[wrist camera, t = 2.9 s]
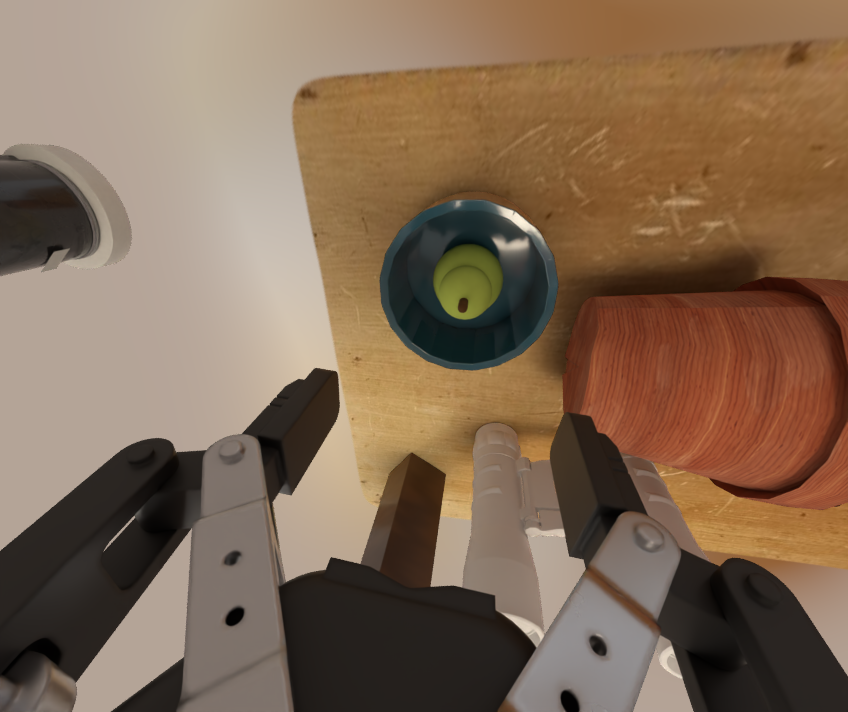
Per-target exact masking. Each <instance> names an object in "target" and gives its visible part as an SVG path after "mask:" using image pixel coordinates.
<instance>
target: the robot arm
mask: <svg viewBox="0 0 848 712" xmlns="http://www.w3.org/2000/svg"><path fill="white" fill-rule="evenodd" d="M99 244H100V228H99V224H98V220H97V218H96V215H95V213H94V211H93V209H92V207H91V205H90V203H89V202H88V200H87V199H86V197H85V196H84V194H83V193H82V192H81V191H80V189H79V188H78V187H77V186H76V185H75V184H74V183H73V182H72V181H71V180H70V179H69V178H68V177H67V176H65V175H64V174H63V173H62V172H60V171H59V170H57V169H56V168H54V167H52V166H50V165H49V164H46V163H44V162H41V161H37V160H19V159H18V158H16V157H15V156H13V155H0V276H3V275H8V274H12V273H16V272H20V271H25V270H29V269H33V268H37V267H42V266H45V267H44V268H43V270H42V271H41V272H43V271H48V270H52V269H56V268H57V267H58V265H59V264H60V263H61V262H64V261H68V260H76V259H82V258H86V257H89V256H91V255H93V254H94V253H95V252H96V251H97V249H98V247H99ZM339 404H340V402H339V383H338V374H337V372H336V371H331V370H325V369H320V368H315V369H314V370H313V371H312V372H311V373H310V374H309V375H308V376H307V378H306V379H305V380H302V379H298V380H296V381H294V382H293V383H291V384H289V385H287V386H285V388H284V389H283V390H282V391H281V392H280V393H279V394H278V395H277V398H274V399H273V401H272V402H271V403H270V405H268V406H267V407H266V408H265V409H264V410H263V411H262V413H261V414H260V415H259V416H258V417H257V418H256V419H255V420H254V421H253V422H252V424H251V425H250V426H249V427H248V428H247V429H246V430H245V431H244V432H243V433H242V434H238V435H232V436H228V437H225V438H223V439H221V440H219V441H217V442H215V443H214V444H213V445H211V446H210V447H209V448H208V449H207V450H204V451H189V452H176V451H175V448H174V446H173V444H172V443H171V442H170V441H169V440H166V439H162V438H153V439H147V440H143V441H140V442H137V443H134V444H131V445H130V446H128V447H126V448H124V449H123V450H121V451H120V452H119V453H117V454H116V455H115V456H113V457H112V458H111V459H110V460H109V461H107V462H106V463H105V464H104V465H103V466H102V467H100V468H99V469H98V470H97V471H95V472H94V473H93V474H92V475H91V476H89V477H88V478H87V479H86V480H85V481H83V482H82V483H81V484H80V485H79V486H77V487H76V488H75V489H74V490H73V491H72V492H70V493H69V494H68V495H67V496H65V497H64V498H63V499H62V500H61V501H59V502H58V503H57V504H56V505H55V506H54V507H52V508H51V509H50V510H49V511H48V512H46V513H45V514H44V515H43V516H42V517H40V518H39V519H38V520H37V521H36V522H34V524H32V525H31V526H30V527H28V528H27V529H26V530H25V531H24V532H22V533H21V534H20V535H19V536H18V537H17V538H15V539H14V540H13V541H12V542H10V543H9V544H8V545H7V546H6V547H4V548H3V549H2V550H1V551H0V712H72V710H73V707H74V704H75V701H76V695H77V687H76V682H77V680H78V679H79V678H80V676H81V675H82V674H83V672H84V671H85V670H86V668H87V667H88V666H89V664H90V663H91V662H92V660H93V659H94V658H95V656H96V655H97V654H98V652H99V651H100V650H101V648H102V647H103V646H104V644H105V643H106V642H107V640H108V639H109V638H110V636H111V635H112V634H113V632H114V631H115V630H116V628H117V627H118V626H119V624H120V623H121V622H122V620H123V619H124V618H125V616H126V615H127V614H128V612H129V611H130V610H131V608H132V607H133V606H134V604H135V603H136V601H137V600H138V599H139V598H140V596H141V595H142V594H143V592H144V591H145V590H146V588H147V587H148V586H149V584H150V583H151V582H152V580H153V579H154V578H155V576H156V575H157V574H158V572H159V571H160V570H161V568H162V567H163V566H164V564H165V563H166V562H167V560H168V559H169V558H170V556H171V555H172V553H173V552H174V551H175V549H176V548H177V547H178V546H179V544H180V543H181V542H182V540H183V539H184V538H185V536H186V535H187V534H188V532H189V531H190V530H191V528H192V537H191V555H190V570H189V586H188V603H187V620H186V636H185V652H184V657H183V658H182V659H181V660H179V661H178V662H177V663H175V664H174V665H173V666H171V667H170V668H169V669H168V670H166V671H165V672H163V673H162V674H161V675H159V676H158V677H157V678H155V679H154V680H153V681H151V682H150V683H149V684H147V685H146V686H145V687H143V688H142V689H141V690H139V691H138V692H137V693H135V694H134V695H133V696H131V697H130V698H129V699H127V700H126V701H125V702H123V703H122V704H121V705H119V706H118V707H117V708H115V709H114V710H113V711H111V712H633V710H634V707H635V704H636V701H637V699H638V696H639V693H640V690H641V688H642V684H643V682H644V679H645V676H646V674H647V671H648V668H649V665H650V662H651V659H652V657H653V654H654V651H655V649H656V646H657V643H658V640H659V637H660V635H661V636H662V637H664V638H666V639H668V640H670V641H671V644H672V647H673V651H674V654H675V657H676V660H677V663H678V666H679V669H680V672H681V675H682V678H683V681H684V684H685V687H686V690H687V693H688V696H689V699H690V702H691V705H692V708H693V711H694V712H848V676H847V674H846V673H845V672H844V670H843V668H842V667H841V665H840V664H839V663H838V661H837V659H836V658H835V656H834V655H833V653H832V652H831V650H830V649H829V647H828V645H827V644H826V642H825V641H824V639H823V638H822V637H821V635H820V633H819V632H818V630H817V629H816V627H815V626H814V624H813V623H812V621H811V620H810V618H809V616H808V615H807V614H806V612H805V611H804V609H803V607H802V606H801V604H800V603H799V601H798V600H797V598H796V597H795V596H794V594H793V593H792V592H791V591H790V590H789V589H788V588H787V587H786V585H784V583H782V582H781V581H780V580H779V579H778V578H777V577H776V576H774V575H773V574H771V573H770V572H769V571H767V570H766V569H764V568H762V567H761V566H759V565H757V564H755V563H753V562H750V561H748V560H744V559H740V558H730V559H727V560H726V561H725V562H724V563H723V564H722V565H721V566H718V565H715V564H713V563H711V562H709V561H707V560H705V559H702V558H700V557H698V556H696V555H694V554H692V553H690V552H687V551H685V550H684V549H682V548H680V547H679V545H678V543H677V541H676V539H675V538H674V536H673V535H672V534H671V533H670V532H669V530H668V529H667V528H666V527H664V526H663V525H662V524H661V523H659V522H658V521H657V520H655V519H653V518H652V517H650V516H648V514H647V511H646V509H645V507H644V505H643V502H642V500H641V498H640V496H639V494H638V491H637V489H636V487H635V485H634V483H633V480H632V478H631V476H630V474H628V469H627V467H626V465H625V463H624V462H623V458H622V456H621V454H620V452H619V449H618V447H617V446H616V445H615V444H614V443H613V442H612V440H611V439H610V438H609V437H608V436H607V435H606V434H603V433H598V432H597V429H596V427H595V424H594V422H593V419H592V417H591V416H588V415H582V414H577V413H571V412H566V413H565V414H564V415H563V417H562V420H561V422H560V425H559V427H558V430H557V433H556V435H555V438H554V440H553V443H552V446H551V451H550V464H551V469H552V474H553V479H554V483H555V488H556V493H557V498H558V503H559V508H560V513H561V518H562V523H563V528H564V533H565V538H566V543H567V547H568V552H569V556H570V557H575V558H579V559H584V563H585V567H586V570H585V572H584V573H583V575H582V576H581V578H580V579H579V581H578V583H577V584H576V586H575V587H574V590H573V591H572V592H571V594H570V595H569V597H568V599H567V600H566V602H565V604H564V605H563V607H562V608H561V610H560V611H559V613H558V615H557V616H556V618H555V619H554V621H553V623H552V624H551V626H550V627H549V629H548V631H547V632H546V634H545V635H544V637H543V639H542V640H541V642H540V643H539V645H538V647H536V646H535V644H534V643H533V642H532V640H531V639H530V638H529V637H528V636H527V635H526V634H525V633H524V632H523V630H522V629H521V628H519V627H518V626H517V625H516V624H515V623H514V622H513V621H512V620H510V619H509V618H507V617H506V616H505V615H503V614H502V613H500V612H498V611H496V604H495V595H492V594H488V593H483V592H479V591H475V590H470V589H466V588H461V587H457V586H439V587H420V588H409V587H406V586H404V585H402V584H400V583H399V582H397V581H395V580H393V579H391V578H390V577H388V576H386V575H384V574H383V573H381V572H379V571H377V570H376V569H374V568H372V567H370V566H367V565H362V564H358V563H354V562H349V561H345V560H341V559H336V558H332V557H331V558H330V561H329V563H328V566H327V568H326V570H322V571H316V572H310V573H307V574H304V575H301V576H298V577H296V578H294V579H292V580H289V581H287V582H286V580H285V575H284V570H283V564H282V558H281V552H280V546H279V539H278V533H277V527H276V520H275V513H274V507H273V503H272V502H273V501H274V499H275V498H276V496H277V495H278V493H283V494H287V495H292V493H293V492H294V490H295V488H296V487H297V485H298V483H299V482H300V480H301V478H302V477H303V475H304V473H305V472H306V470H307V468H308V466H309V465H310V463H311V462H312V460H313V458H314V457H315V455H316V453H317V452H318V450H319V448H320V447H321V445H322V443H323V442H324V440H325V438H326V437H327V435H328V433H329V432H330V430H331V428H332V426H333V425H334V423H335V422H336V420H337V417H338V413H339V407H340V405H339ZM133 516H135V517H136V518H135V519H134V520H133V521H132V522H131V523H130V524H129V525H128V526H127V527H126V528H125V530H124V531H123V532H122V533H121V534H120V535H119V536H118V537H117V538H116V539H115V540H114V541H113V543H111V545H110V546H109V547H108V548H107V549H106V550H105V551H104V549H105V548H106V546H107V545H108V543H109V542H110V541H111V540H112V539H113V537H114V536H115V535H116V534H117V533H118V532H119V531H120V530H121V529H122V528H123V527H124V526H125V525H126V523H128V521H129V520H130V519H131V518H132V517H133ZM103 551H104V552H103Z"/></svg>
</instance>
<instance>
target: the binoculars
mask: <svg viewBox="0 0 848 712" xmlns="http://www.w3.org/2000/svg"><path fill="white" fill-rule="evenodd" d="M620 454H621V456H622V458H623V462H624V463H625V465H626V467H627V469H628V474H630V476H631V478H632V480H633V483H634V485H635V487H636V489H637V491H638V494H639V496H640V498H641V500H642V502H643V505H644V507H645V509H646V511H647V514H648V516H650V517H652V518H653V519H655V520H657V521H658V522H659V523H661V524H662V525H663V526H664V527H666V528H667V529H668V530H669V532H670V533H671V534H672V535H673V536H674V538H675V539H676V541H677V543H678V545H679V547H680V548H682V549H684V550H685V551H687V552H690V553H692V554H694V555H696V556H698V557H700V558H702V559H705V560H707V561H709V562H710V560H709V559H708V558H707V557H706V555H705V553H704V552H703V551H702V549H701V548H700V547H699V546H698V544H697V543H696V541H695V539H694V537H693V535H692V534H691V532H690V530H689V528H688V526H687V524H686V523H685V521H684V519H683V517H682V513H681V511H680V509H679V508H678V506H677V505H676V504H675V503H674V501H673V499H672V497H671V495H670V494H669V492H668V489H667V486H666V484H665V482H664V481H663V480H662V479H661V477H660V475H659V474H658V472H657V469H656V467H655V465H654V463H653V461H649V460H646V459H642V458H639V457H635V456H632V455H628V454H625V453H621V452H620ZM473 460H474V479H473V502H472V509H471V510H472V527H471V537H470V542H469V546H468V551H467V556H466V562H465V566H464V573H463V588H466V589H470V590H475V591H479V592H483V593H488V594H492V595H495V604H496V611H498V612H500V613H502V614H503V615H505V616H506V617H507V618H509V619H510V620H512V621H513V622H514V623H515V624H516V625H517V626H518V627H519V628H521V629H522V630H523V632H524V633H525V634H526V635H527V636H528V637H529V638H530V639H531V640H532V642H533V643H534V644H535V646H536V647H538V645H539V643H540V642H541V640H542V639H543V637H544V635H545V633H544V625H543V617H542V608H541V600H540V592H539V583H538V577H537V573H536V569H535V565H534V561H533V557H532V553H531V549H530V546H529V542H528V537H527V535H528V536H530V537H537V536H539V535H542V536H551V535H553V536H557V537H565V533H564V528H563V523H562V518H561V513H560V508H559V503H558V498H557V493H556V492H555V491H556V488H555V487H554V486H555V483H554V482H553V481H554V479H553V474H552V469H551V464H550V460H540V461H536V462H531V463H530V460H529V458H526V457H522V458H521V450H520V446H519V444H518V437H517V434H516V432H515V431H514V430H513V429H512V428H511V427H509V426H508V425H505V424H502V423H489V424H486V425H484V426H482V427H480V428H479V429H478V431H477V432H476V435H475V443H474V446H473ZM521 478H522V480H521ZM522 488H523V489H522ZM523 497H524V499H523ZM537 512H539V518H538V513H537ZM540 526H541V527H540ZM656 650H657V653H658V656H659V661H660V664H661V665H662V666H663V668H664V669H666V670H667V671H668V672H669V673H671V674H673V675H675V676H676V677H679V678H682V675H681V672H680V669H679V666H678V663H677V660H676V657H675V654H674V651H673V647H672V644H671V641H670V640H668V639H666V638H664V637H662V636H661V635H660V637H659V640H658V643H657V646H656ZM682 679H683V678H682Z"/></svg>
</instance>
